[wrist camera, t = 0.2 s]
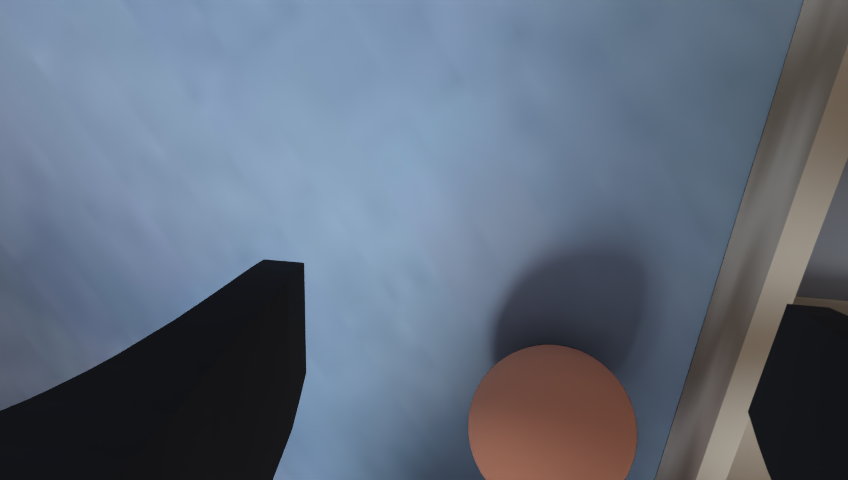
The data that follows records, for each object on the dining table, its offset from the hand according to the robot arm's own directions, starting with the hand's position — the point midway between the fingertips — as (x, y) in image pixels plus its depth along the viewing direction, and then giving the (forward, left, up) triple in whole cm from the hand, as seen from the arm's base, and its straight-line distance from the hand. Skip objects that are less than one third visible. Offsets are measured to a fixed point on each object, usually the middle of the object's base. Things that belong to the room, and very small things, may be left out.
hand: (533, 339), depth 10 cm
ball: (-8, -2, -7) cm, 11 cm away
